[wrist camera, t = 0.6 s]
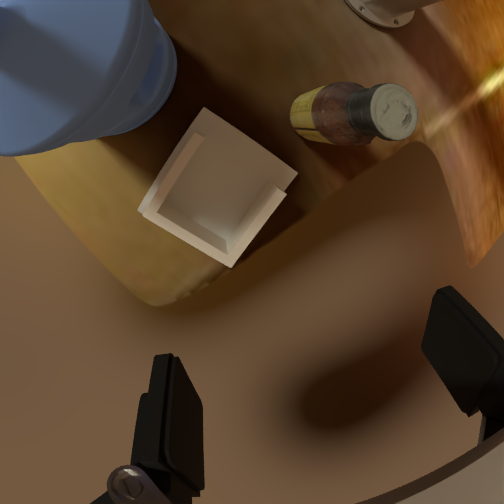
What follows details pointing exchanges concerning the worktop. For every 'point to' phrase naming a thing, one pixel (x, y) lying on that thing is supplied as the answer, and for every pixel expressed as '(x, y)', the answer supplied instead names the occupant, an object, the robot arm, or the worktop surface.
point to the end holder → (217, 188)
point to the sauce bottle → (354, 114)
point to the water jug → (79, 71)
